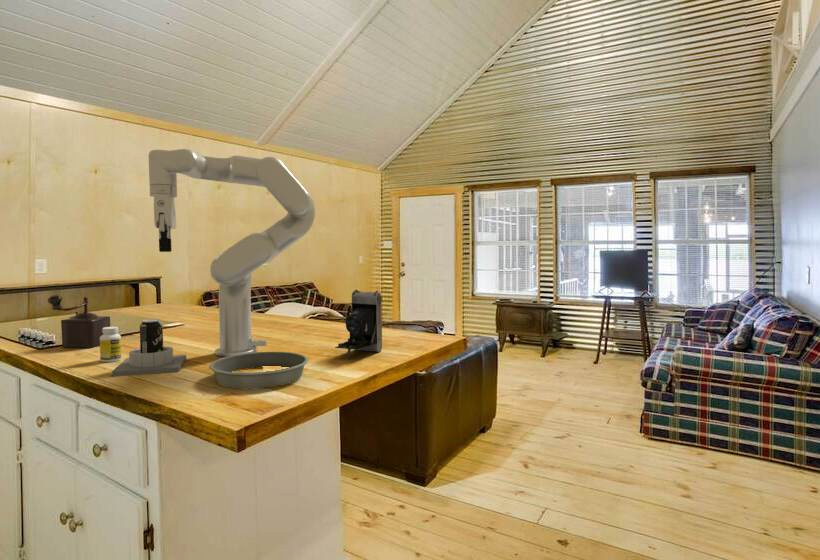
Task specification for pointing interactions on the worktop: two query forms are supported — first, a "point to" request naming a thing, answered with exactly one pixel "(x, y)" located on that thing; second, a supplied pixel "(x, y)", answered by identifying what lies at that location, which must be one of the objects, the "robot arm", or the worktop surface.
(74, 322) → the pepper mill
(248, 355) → the cake pan
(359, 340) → the vintage camera
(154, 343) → the beverage can
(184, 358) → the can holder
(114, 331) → the supplement bottle
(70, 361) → the worktop surface
